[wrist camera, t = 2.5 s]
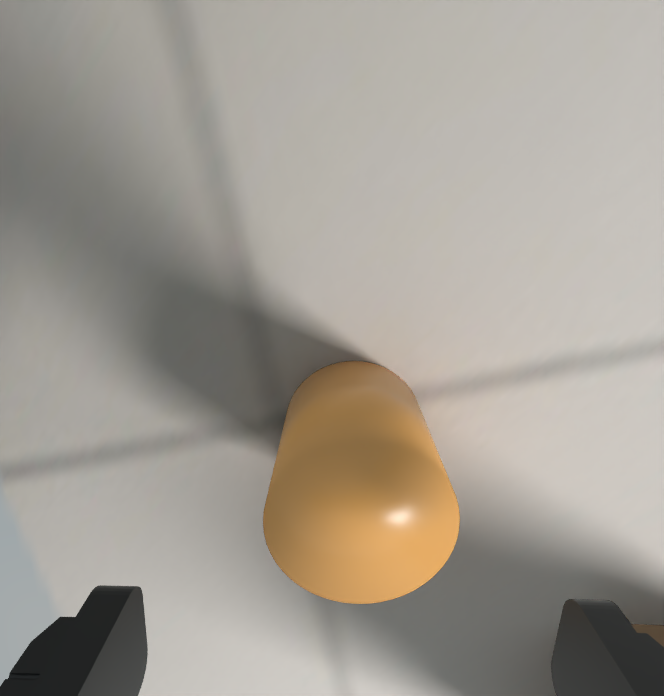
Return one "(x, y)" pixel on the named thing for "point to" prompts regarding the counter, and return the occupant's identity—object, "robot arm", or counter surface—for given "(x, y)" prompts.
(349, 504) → the orange rounded cylinder
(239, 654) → the counter surface
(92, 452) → the counter surface
